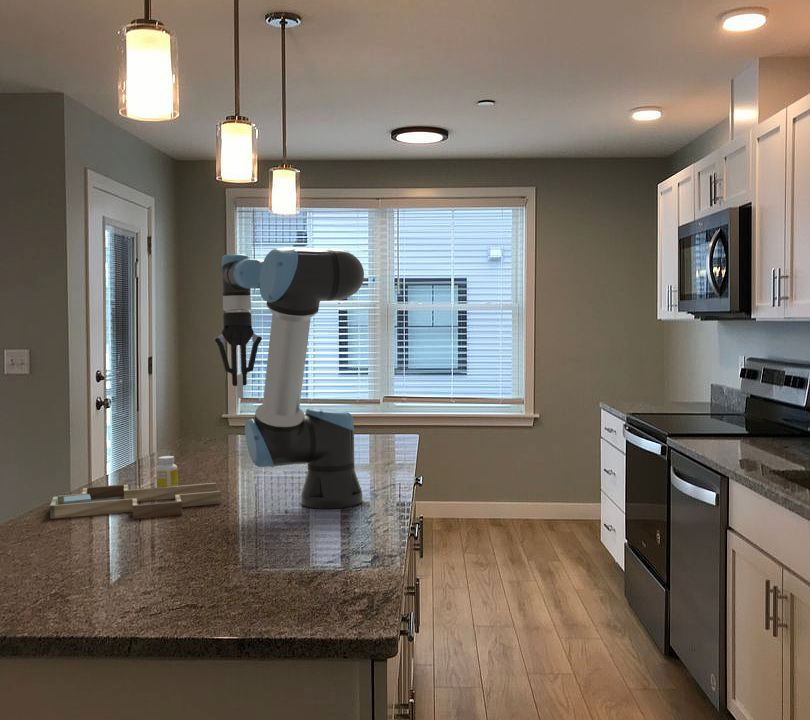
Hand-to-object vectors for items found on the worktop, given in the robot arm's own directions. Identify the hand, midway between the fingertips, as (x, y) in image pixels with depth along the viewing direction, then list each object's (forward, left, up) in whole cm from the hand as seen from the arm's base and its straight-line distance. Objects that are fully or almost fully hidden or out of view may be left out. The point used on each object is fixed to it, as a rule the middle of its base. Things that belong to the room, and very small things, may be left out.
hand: (239, 397), depth 228 cm
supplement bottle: (-2, +20, -25) cm, 32 cm away
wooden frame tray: (-14, +28, -24) cm, 40 cm away
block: (-14, +42, -25) cm, 50 cm away
